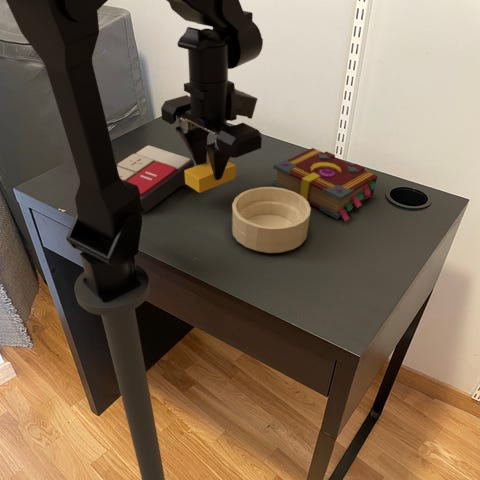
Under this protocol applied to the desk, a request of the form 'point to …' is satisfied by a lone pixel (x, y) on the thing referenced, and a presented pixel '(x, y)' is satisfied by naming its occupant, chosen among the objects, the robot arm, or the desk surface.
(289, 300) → the desk surface
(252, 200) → the bowl
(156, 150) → the calculator
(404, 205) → the desk surface
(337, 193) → the decorative book
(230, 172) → the block
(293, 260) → the desk surface
